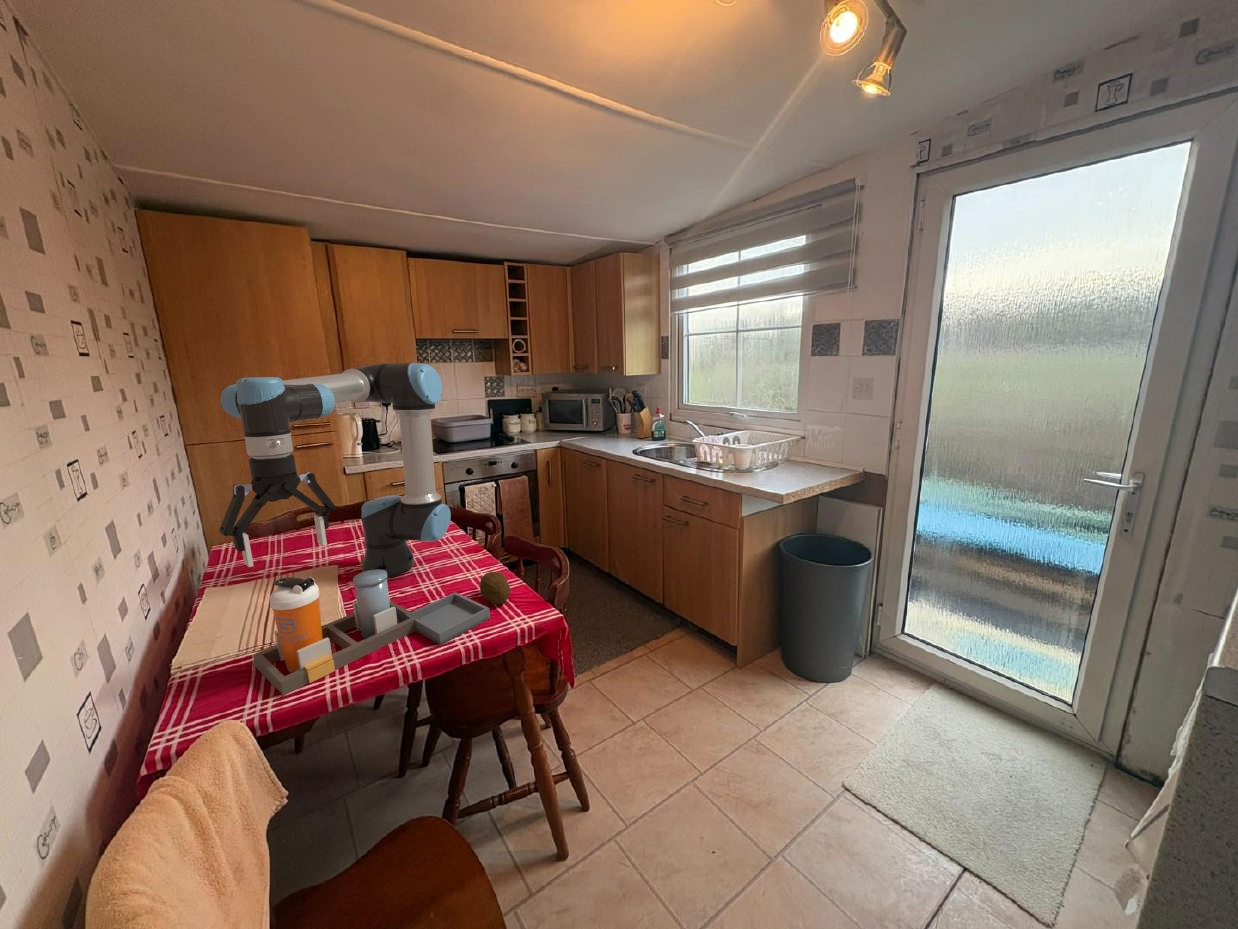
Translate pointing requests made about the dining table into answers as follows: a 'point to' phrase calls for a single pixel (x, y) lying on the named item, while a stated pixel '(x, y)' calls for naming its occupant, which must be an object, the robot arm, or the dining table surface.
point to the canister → (371, 598)
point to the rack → (319, 655)
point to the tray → (449, 617)
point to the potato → (495, 587)
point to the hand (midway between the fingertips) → (287, 554)
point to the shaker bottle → (296, 616)
